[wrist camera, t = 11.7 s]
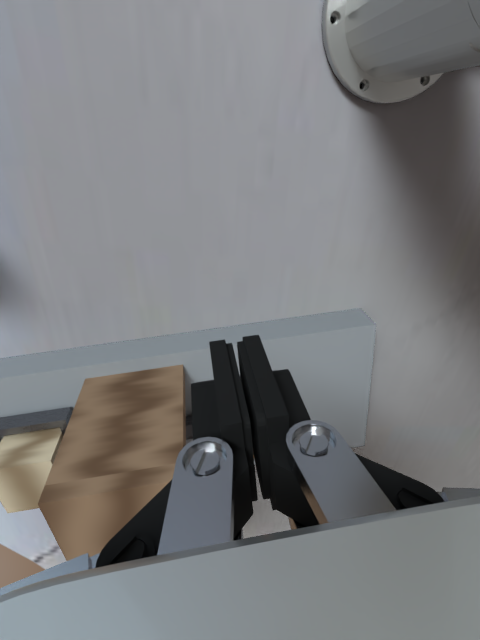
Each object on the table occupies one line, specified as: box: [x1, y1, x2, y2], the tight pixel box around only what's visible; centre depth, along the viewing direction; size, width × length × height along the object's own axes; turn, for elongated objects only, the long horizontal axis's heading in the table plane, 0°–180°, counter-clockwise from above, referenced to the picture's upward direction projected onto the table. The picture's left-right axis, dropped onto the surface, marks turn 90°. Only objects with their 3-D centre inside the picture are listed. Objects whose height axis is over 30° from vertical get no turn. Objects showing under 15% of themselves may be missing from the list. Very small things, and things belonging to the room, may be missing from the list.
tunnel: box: [38, 365, 186, 561], centre depth 36 cm, size 10×15×14 cm, turn 5°
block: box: [0, 427, 63, 513], centre depth 39 cm, size 6×6×6 cm
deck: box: [0, 308, 376, 507], centre depth 45 cm, size 45×18×4 cm, turn 95°
